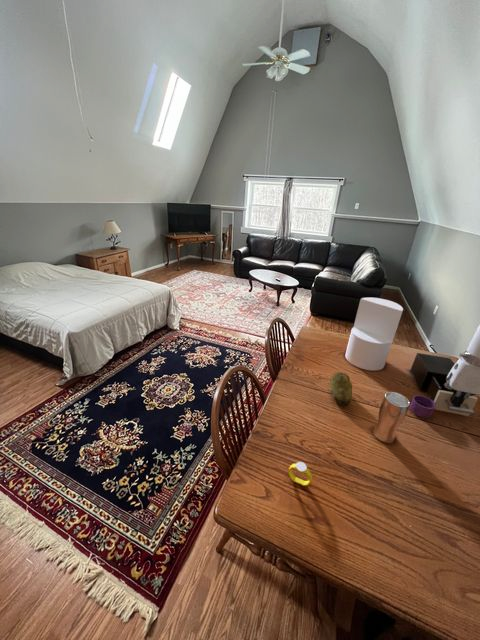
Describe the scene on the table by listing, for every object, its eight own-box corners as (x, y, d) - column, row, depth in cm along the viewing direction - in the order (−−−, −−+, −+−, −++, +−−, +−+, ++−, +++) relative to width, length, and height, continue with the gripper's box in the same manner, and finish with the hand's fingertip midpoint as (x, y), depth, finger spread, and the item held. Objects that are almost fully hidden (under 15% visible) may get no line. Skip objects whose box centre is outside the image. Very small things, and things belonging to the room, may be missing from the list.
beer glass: (391, 448, 82) (407, 411, 75) (368, 435, 86) (381, 398, 79) (398, 435, 86) (413, 399, 80) (375, 423, 90) (388, 388, 84)
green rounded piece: (325, 402, 98) (329, 385, 95) (330, 383, 109) (334, 367, 106) (348, 410, 95) (353, 393, 92) (351, 389, 106) (356, 373, 102)
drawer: (475, 425, 90) (485, 408, 87) (436, 417, 93) (445, 400, 89) (453, 392, 106) (460, 376, 102) (420, 386, 108) (427, 370, 105)
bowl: (427, 407, 99) (431, 397, 97) (433, 420, 93) (438, 410, 91) (406, 403, 100) (410, 393, 98) (412, 415, 94) (416, 405, 92)
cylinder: (355, 346, 137) (369, 294, 125) (390, 361, 126) (409, 306, 114) (338, 358, 126) (351, 303, 115) (375, 375, 115) (393, 316, 103)
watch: (311, 482, 71) (314, 467, 68) (308, 491, 68) (312, 476, 66) (289, 471, 73) (292, 456, 71) (286, 480, 71) (288, 465, 68)
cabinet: (456, 398, 104) (466, 378, 100) (419, 391, 107) (428, 371, 103) (442, 376, 116) (450, 358, 112) (410, 371, 119) (417, 352, 115)
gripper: (457, 360, 83) (434, 406, 91) (514, 371, 79) (485, 417, 87) (447, 349, 89) (426, 392, 97) (499, 358, 86) (474, 402, 94)
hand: (454, 404), depth 92 cm, fingers closed
